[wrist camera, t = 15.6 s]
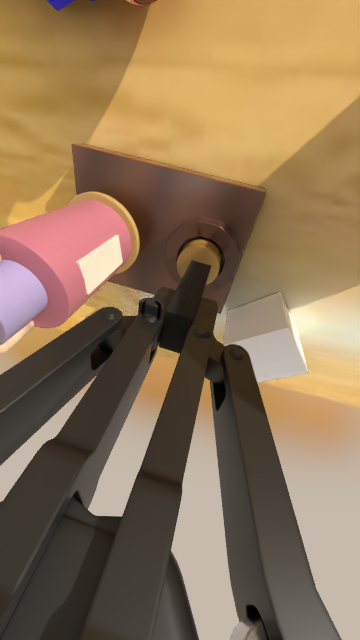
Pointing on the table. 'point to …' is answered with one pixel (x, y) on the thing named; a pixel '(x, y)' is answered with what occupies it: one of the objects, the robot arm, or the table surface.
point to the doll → (61, 262)
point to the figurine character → (62, 0)
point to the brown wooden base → (172, 215)
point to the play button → (200, 257)
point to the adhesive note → (267, 338)
